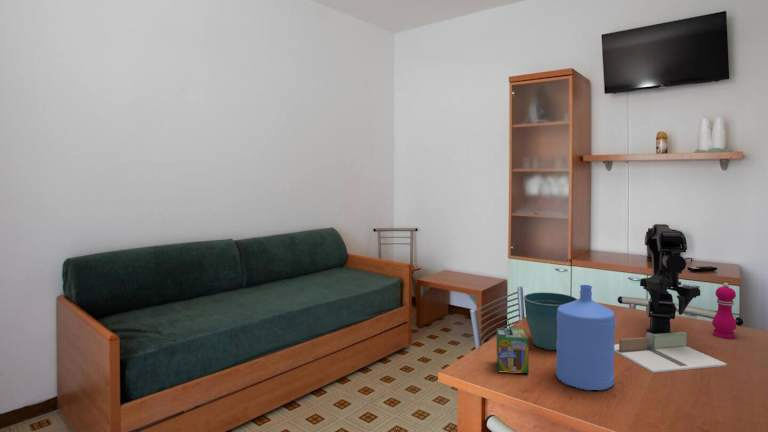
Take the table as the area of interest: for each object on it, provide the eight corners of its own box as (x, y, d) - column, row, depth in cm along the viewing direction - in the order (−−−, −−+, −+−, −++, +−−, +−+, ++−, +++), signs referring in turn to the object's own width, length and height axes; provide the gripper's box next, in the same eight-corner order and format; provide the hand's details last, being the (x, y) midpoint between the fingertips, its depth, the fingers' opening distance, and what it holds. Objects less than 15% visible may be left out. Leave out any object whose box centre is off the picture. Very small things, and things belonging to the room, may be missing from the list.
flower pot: (513, 339, 167) (513, 294, 166) (553, 333, 173) (554, 290, 172) (544, 357, 150) (545, 307, 149) (588, 350, 156) (589, 301, 155)
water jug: (611, 397, 123) (613, 295, 120) (550, 384, 131) (551, 288, 129) (616, 375, 136) (618, 283, 134) (561, 365, 144) (562, 278, 142)
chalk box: (528, 375, 137) (529, 327, 136) (497, 373, 139) (497, 326, 137) (525, 363, 146) (525, 318, 145) (495, 361, 148) (496, 317, 146)
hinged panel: (654, 348, 154) (655, 335, 154) (651, 346, 156) (651, 334, 155) (686, 345, 156) (687, 333, 156) (682, 344, 158) (683, 331, 158)
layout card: (606, 346, 159) (606, 330, 158) (671, 341, 163) (671, 325, 163) (653, 372, 137) (653, 353, 137) (727, 365, 141) (727, 347, 141)
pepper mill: (731, 333, 170) (733, 281, 169) (739, 340, 163) (741, 285, 162) (708, 331, 172) (710, 280, 171) (715, 338, 166) (717, 284, 164)
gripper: (629, 264, 163) (627, 306, 165) (677, 273, 146) (676, 321, 147) (652, 262, 167) (650, 303, 168) (702, 271, 150) (700, 317, 151)
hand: (667, 311), depth 158 cm, fingers open, 9 cm apart
